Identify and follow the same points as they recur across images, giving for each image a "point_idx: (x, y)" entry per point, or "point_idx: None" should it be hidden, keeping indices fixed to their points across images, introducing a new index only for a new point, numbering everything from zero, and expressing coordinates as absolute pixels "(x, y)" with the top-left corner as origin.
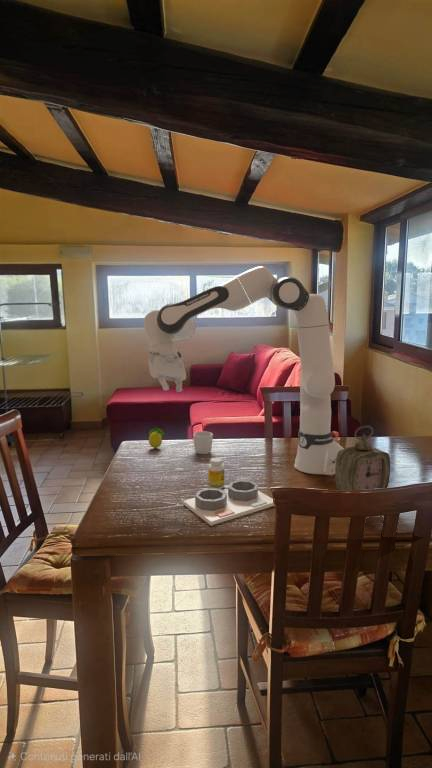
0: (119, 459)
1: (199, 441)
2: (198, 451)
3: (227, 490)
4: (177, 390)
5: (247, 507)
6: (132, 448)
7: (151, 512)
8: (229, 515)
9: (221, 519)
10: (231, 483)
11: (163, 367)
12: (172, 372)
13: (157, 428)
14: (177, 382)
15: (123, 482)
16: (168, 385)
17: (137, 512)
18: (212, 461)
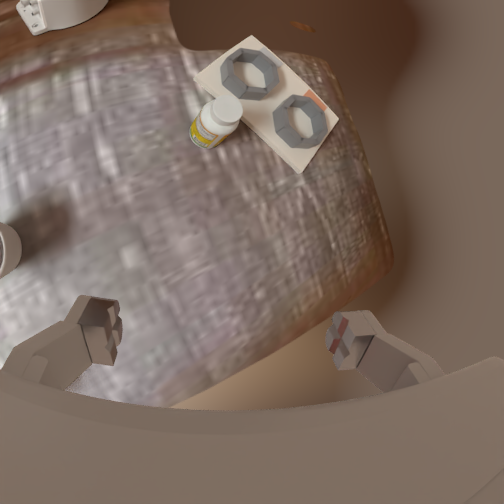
0: None
1: (11, 250)
2: (20, 254)
3: None
4: (118, 332)
5: (286, 72)
6: None
7: (333, 215)
8: (317, 96)
9: (326, 106)
10: (250, 88)
11: (499, 429)
12: (300, 464)
13: None
14: (60, 388)
15: (251, 333)
16: (353, 329)
17: (339, 236)
18: (241, 115)
